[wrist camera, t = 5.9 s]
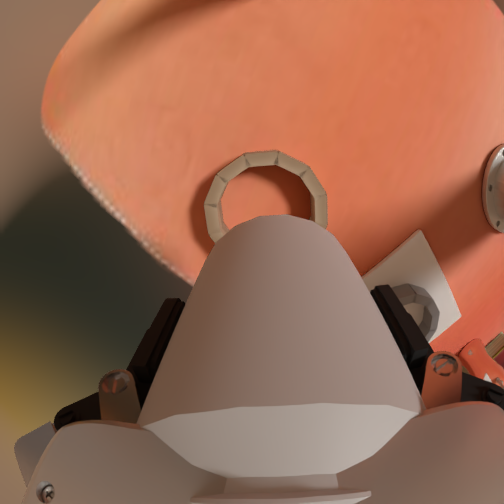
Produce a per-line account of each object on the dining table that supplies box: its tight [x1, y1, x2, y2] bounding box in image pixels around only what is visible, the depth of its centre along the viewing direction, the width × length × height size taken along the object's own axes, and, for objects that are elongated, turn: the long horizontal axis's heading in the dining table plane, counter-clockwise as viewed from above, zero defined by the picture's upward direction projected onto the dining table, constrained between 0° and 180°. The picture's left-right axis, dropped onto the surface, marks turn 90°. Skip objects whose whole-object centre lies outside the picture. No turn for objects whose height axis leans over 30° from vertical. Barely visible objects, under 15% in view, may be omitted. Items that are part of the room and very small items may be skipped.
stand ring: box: [204, 150, 328, 243], centre depth 27 cm, size 11×11×2 cm
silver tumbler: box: [458, 339, 504, 389], centre depth 29 cm, size 7×7×15 cm
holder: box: [361, 229, 461, 343], centre depth 32 cm, size 18×18×3 cm
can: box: [136, 214, 426, 504], centre depth 9 cm, size 8×8×12 cm
